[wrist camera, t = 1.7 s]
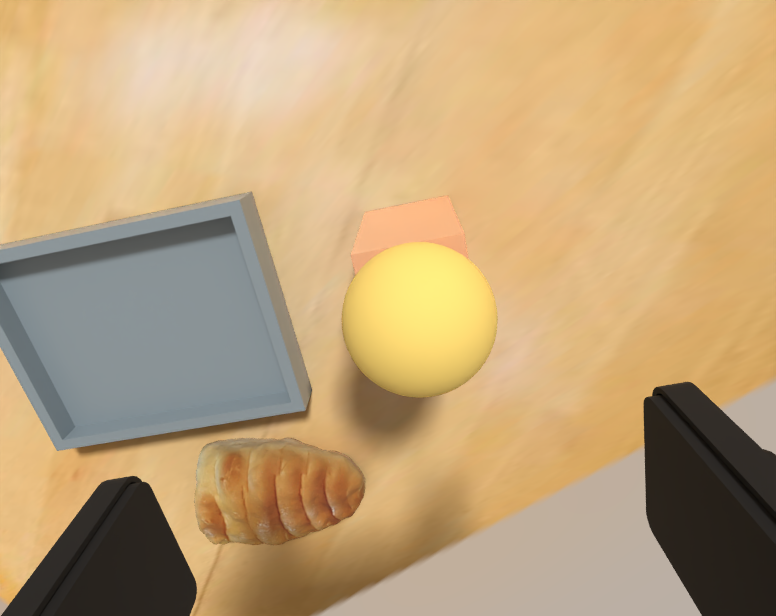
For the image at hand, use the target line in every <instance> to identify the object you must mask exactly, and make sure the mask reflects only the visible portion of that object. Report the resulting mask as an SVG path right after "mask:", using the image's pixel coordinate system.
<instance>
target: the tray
mask: <svg viewBox="0 0 776 616" xmlns="http://www.w3.org/2000/svg"><path fill="white" fill-rule="evenodd" d="M0 348H1V349H2V351H3V353H4V355H5V357H6V358H7V360H8V362H9V364H10V366H11V368H12V369H13V371H14V373H15V375H16V377H17V379H18V380H19V382H20V384H21V386H22V388H23V389H24V391H25V393H26V395H27V397H28V399H29V400H30V402H31V404H32V406H33V408H34V410H35V411H36V413H37V415H38V417H39V419H40V421H41V422H42V424H43V426H44V428H45V430H46V431H47V433H48V435H49V437H50V439H51V441H52V442H53V444H54V446H55V448H56V450H57V451H59V450H65V449H72V448H78V447H84V446H90V445H96V444H102V443H108V442H115V441H121V440H127V439H133V438H139V437H145V436H152V435H158V434H164V433H170V432H176V431H182V430H188V429H195V428H201V427H207V426H213V425H219V424H225V423H231V422H238V421H244V420H250V419H256V418H262V417H268V416H275V415H281V414H287V413H293V412H299V411H305V410H306V408H307V405H308V401H309V398H310V395H311V392H312V388H311V385H310V381H309V378H308V375H307V371H306V368H305V365H304V362H303V358H302V355H301V352H300V348H299V345H298V342H297V338H296V335H295V332H294V329H293V325H292V322H291V319H290V315H289V312H288V309H287V306H286V302H285V299H284V296H283V292H282V289H281V286H280V283H279V279H278V276H277V273H276V269H275V266H274V263H273V260H272V256H271V253H270V250H269V246H268V243H267V240H266V237H265V233H264V230H263V227H262V223H261V220H260V217H259V214H258V210H257V207H256V204H255V200H254V197H253V194H252V192H248V193H243V194H239V195H234V196H229V197H224V198H220V199H215V200H210V201H205V202H201V203H196V204H191V205H186V206H182V207H177V208H172V209H167V210H163V211H158V212H153V213H148V214H144V215H139V216H134V217H129V218H125V219H120V220H115V221H110V222H106V223H101V224H96V225H91V226H87V227H82V228H77V229H72V230H68V231H63V232H58V233H53V234H49V235H44V236H39V237H34V238H30V239H25V240H20V241H15V242H11V243H6V244H1V245H0Z"/></svg>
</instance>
